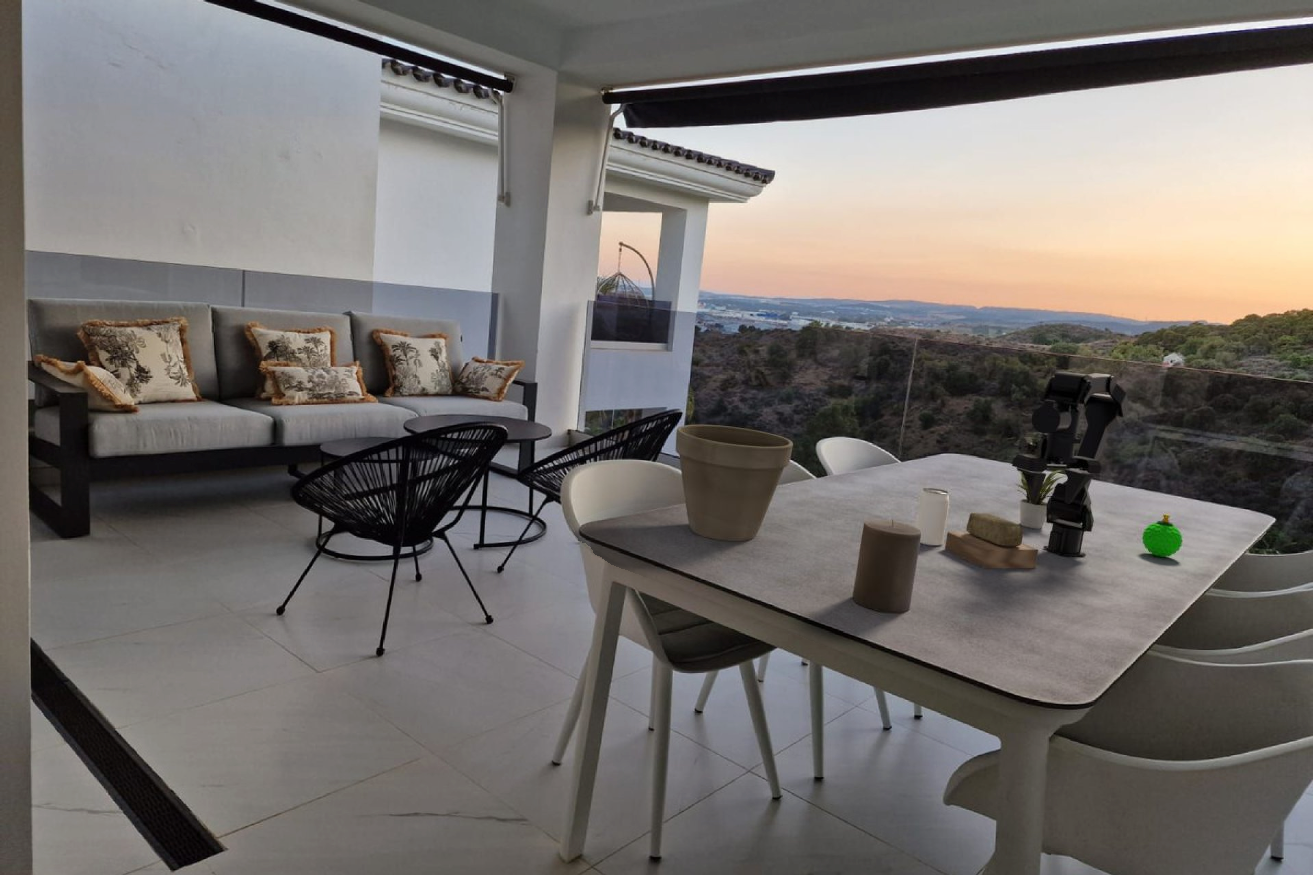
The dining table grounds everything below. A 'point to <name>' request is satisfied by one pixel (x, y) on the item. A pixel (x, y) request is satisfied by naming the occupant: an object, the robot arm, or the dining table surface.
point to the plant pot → (729, 478)
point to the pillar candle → (886, 566)
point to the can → (932, 516)
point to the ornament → (1162, 538)
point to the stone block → (995, 529)
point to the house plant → (1035, 512)
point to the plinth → (990, 552)
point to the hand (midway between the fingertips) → (1050, 503)
